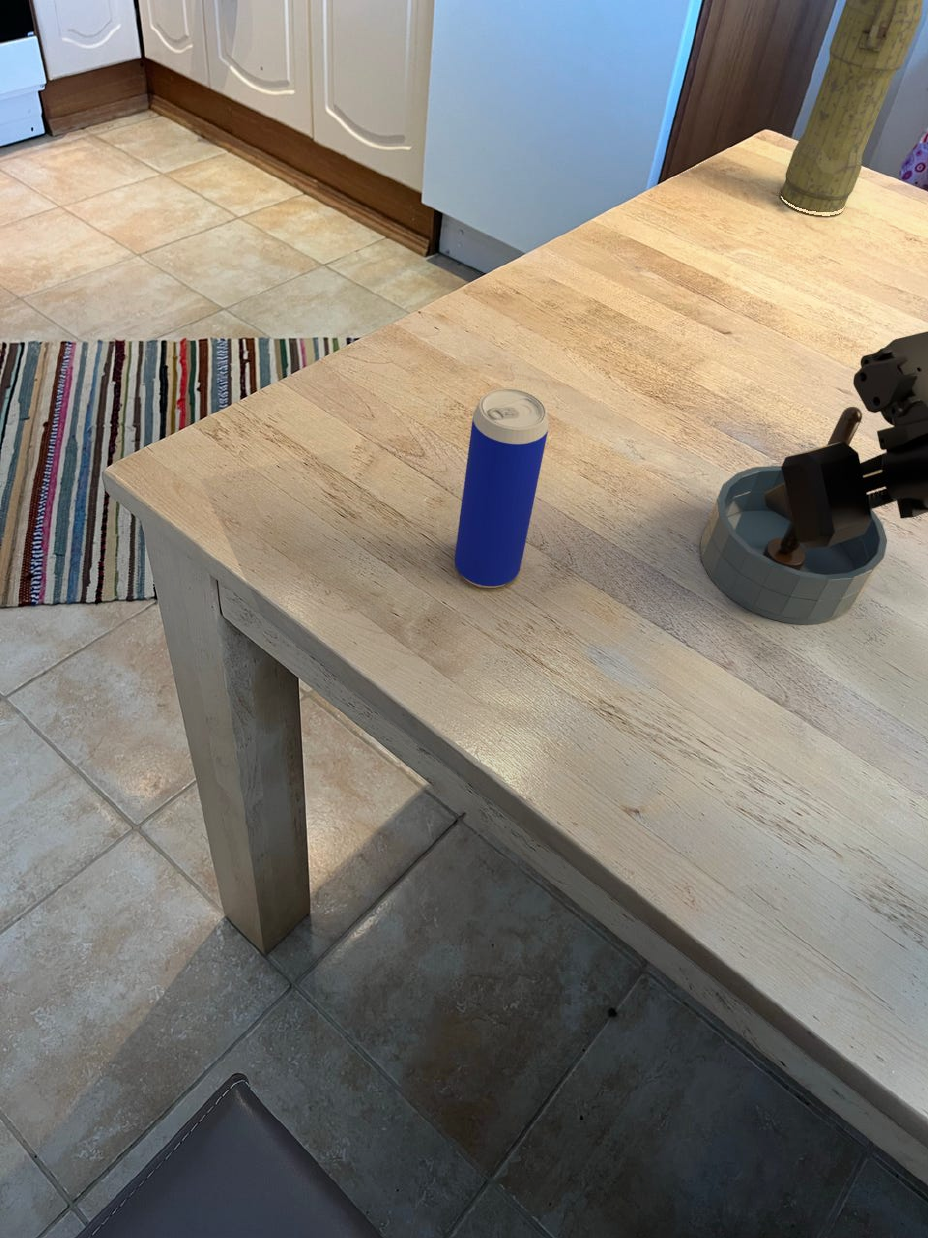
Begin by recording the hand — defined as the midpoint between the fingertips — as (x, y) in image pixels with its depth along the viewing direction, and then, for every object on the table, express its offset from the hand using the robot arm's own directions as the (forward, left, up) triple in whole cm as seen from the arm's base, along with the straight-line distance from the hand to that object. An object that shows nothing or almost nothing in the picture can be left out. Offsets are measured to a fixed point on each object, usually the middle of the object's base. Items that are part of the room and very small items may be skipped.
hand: (812, 486), depth 72 cm
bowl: (0, 0, -8) cm, 8 cm away
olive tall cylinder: (+10, -74, -8) cm, 75 cm away
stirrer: (0, 0, -7) cm, 7 cm away
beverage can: (+21, +13, -8) cm, 26 cm away
